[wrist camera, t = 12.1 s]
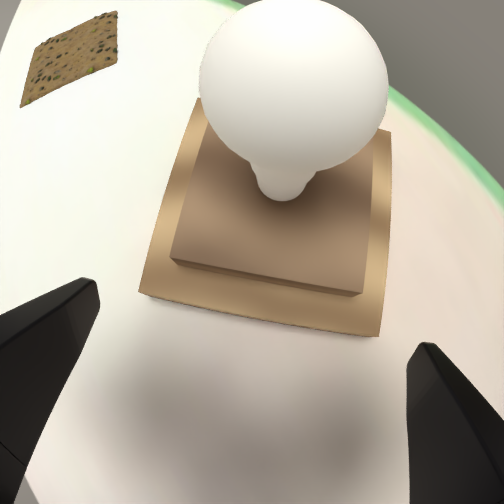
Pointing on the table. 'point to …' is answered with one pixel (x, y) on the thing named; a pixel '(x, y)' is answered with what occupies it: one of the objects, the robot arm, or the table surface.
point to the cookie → (71, 56)
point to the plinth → (262, 294)
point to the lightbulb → (293, 90)
